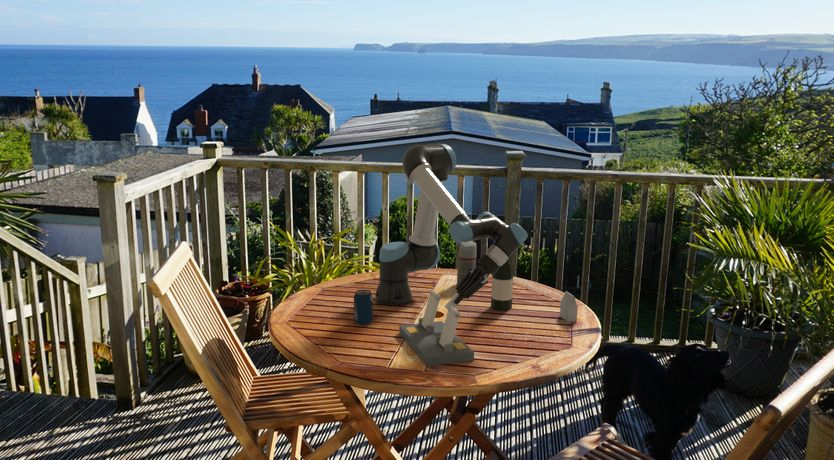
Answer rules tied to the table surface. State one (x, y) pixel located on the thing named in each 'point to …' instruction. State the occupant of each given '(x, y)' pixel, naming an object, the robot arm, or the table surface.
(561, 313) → the tea bag
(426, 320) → the lever
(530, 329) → the table surface
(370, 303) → the soda can
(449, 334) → the lever
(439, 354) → the switch board
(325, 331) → the table surface
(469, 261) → the spray can
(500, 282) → the wine bottle
